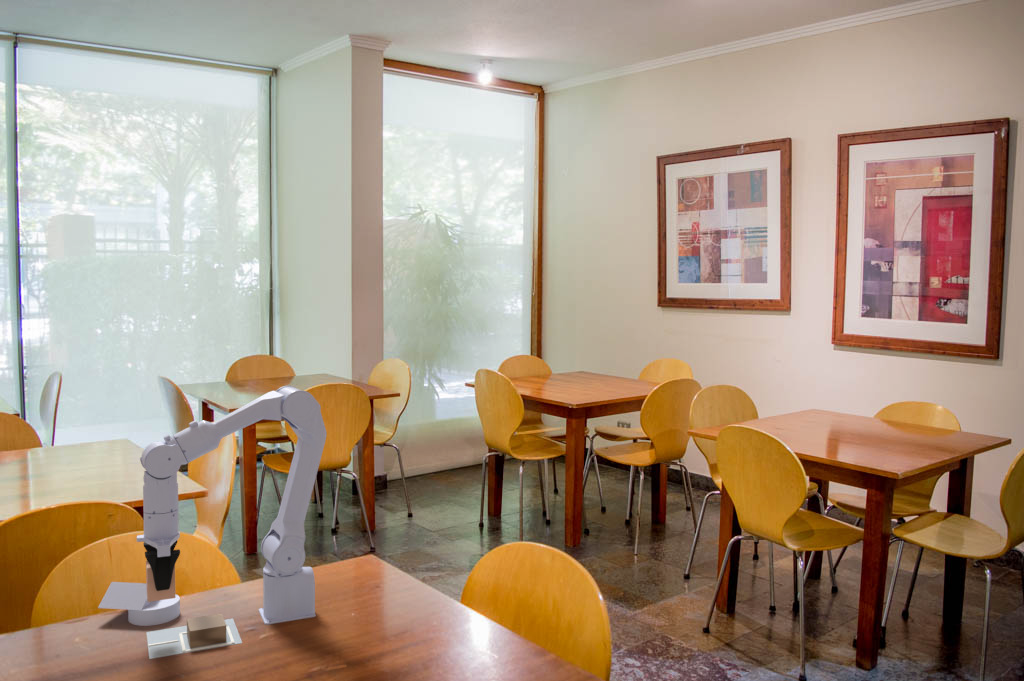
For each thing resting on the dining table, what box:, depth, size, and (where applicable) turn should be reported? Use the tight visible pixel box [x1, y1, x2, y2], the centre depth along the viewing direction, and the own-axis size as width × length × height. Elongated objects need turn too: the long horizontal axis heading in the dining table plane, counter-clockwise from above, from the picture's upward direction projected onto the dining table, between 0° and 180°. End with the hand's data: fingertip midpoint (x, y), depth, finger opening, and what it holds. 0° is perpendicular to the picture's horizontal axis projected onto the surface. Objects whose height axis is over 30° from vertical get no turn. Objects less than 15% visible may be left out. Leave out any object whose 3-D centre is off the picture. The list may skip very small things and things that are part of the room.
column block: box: [145, 560, 176, 602], centre depth 145 cm, size 4×4×6 cm
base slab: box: [186, 613, 226, 648], centre depth 145 cm, size 6×6×3 cm
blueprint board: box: [145, 618, 243, 660], centre depth 145 cm, size 15×12×1 cm
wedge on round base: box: [97, 581, 181, 627], centre depth 155 cm, size 9×7×13 cm
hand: (162, 584), depth 145 cm, fingers closed on column block, 4 cm apart
